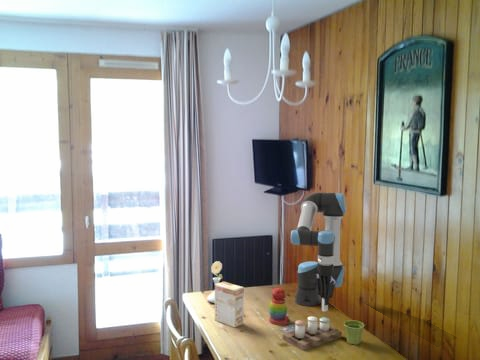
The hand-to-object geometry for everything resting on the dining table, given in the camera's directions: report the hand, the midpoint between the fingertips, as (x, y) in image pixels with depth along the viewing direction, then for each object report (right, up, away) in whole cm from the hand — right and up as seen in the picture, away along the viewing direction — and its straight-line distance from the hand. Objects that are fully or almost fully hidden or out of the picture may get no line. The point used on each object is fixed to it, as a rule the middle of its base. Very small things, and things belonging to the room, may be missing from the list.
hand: (324, 310), depth 217 cm
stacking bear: (-21, -11, +16) cm, 29 cm away
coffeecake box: (-47, -11, +15) cm, 51 cm away
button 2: (0, -11, 0) cm, 11 cm away
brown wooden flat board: (-7, -12, -4) cm, 14 cm away
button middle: (-7, -9, -4) cm, 12 cm away
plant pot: (+12, -13, -8) cm, 19 cm away
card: (-15, -11, +7) cm, 20 cm away
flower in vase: (-55, -8, +45) cm, 71 cm away
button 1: (-13, -9, -9) cm, 19 cm away
